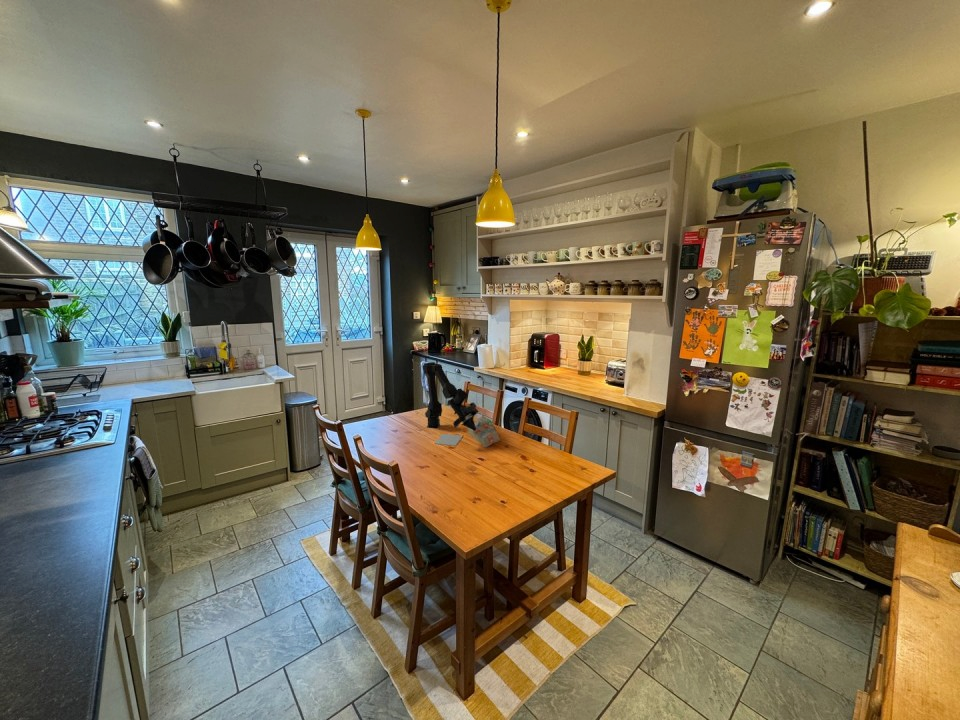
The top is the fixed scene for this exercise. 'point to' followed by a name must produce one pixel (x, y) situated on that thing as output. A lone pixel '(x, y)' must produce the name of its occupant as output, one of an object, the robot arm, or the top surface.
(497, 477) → the top surface
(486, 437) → the stack of blocks
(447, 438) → the grey rubber mat
